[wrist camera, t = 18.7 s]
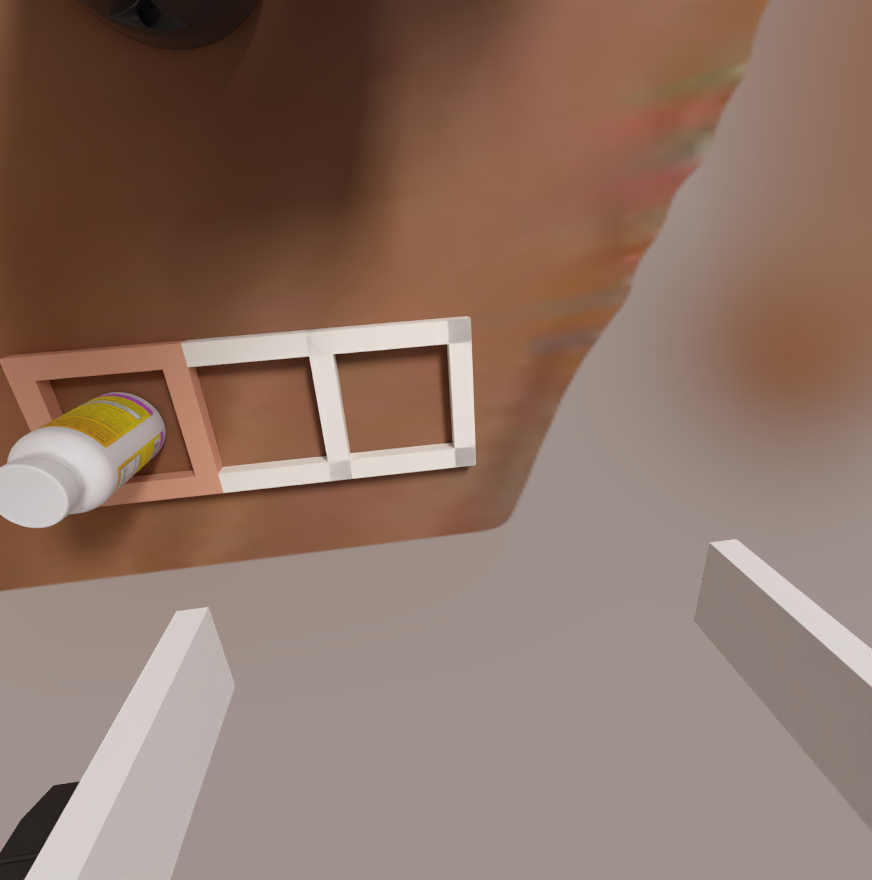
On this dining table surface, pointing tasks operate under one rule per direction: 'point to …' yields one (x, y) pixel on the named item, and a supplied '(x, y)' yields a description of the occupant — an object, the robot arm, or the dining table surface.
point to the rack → (319, 344)
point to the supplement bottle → (79, 459)
